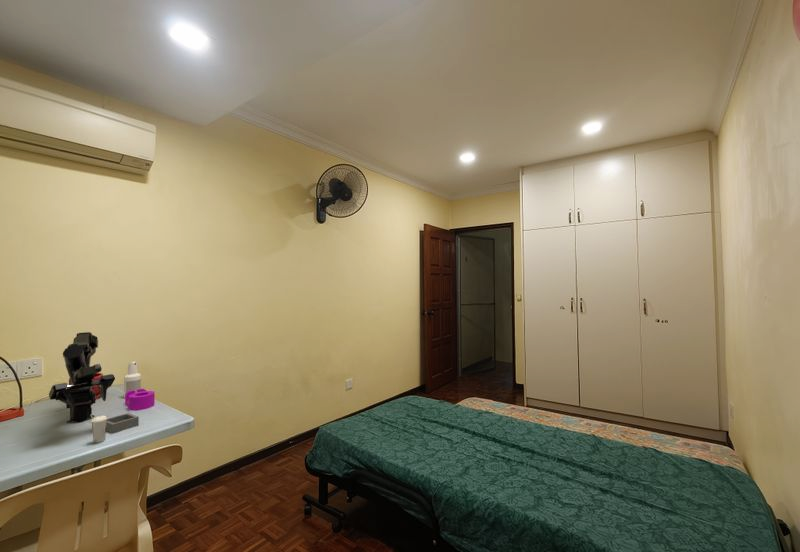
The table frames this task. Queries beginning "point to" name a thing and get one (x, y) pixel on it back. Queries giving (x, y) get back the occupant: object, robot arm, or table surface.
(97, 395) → the plant pot
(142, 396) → the tape dispenser
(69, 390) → the robot arm
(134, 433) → the table surface
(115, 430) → the collar
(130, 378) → the spray bottle
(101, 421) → the milkshake
